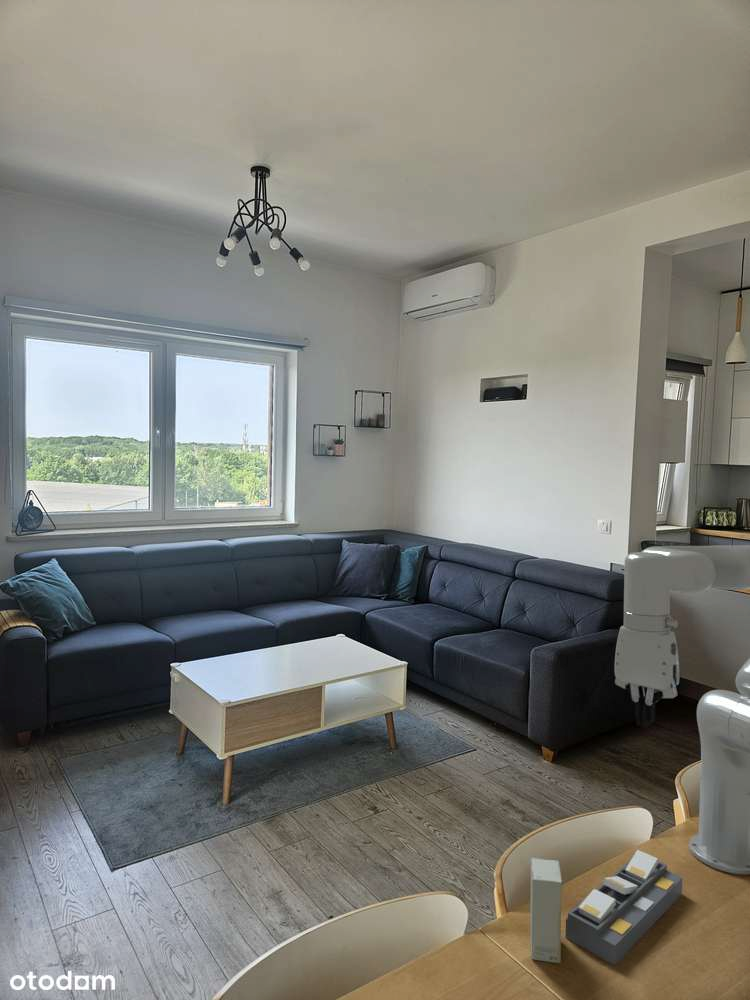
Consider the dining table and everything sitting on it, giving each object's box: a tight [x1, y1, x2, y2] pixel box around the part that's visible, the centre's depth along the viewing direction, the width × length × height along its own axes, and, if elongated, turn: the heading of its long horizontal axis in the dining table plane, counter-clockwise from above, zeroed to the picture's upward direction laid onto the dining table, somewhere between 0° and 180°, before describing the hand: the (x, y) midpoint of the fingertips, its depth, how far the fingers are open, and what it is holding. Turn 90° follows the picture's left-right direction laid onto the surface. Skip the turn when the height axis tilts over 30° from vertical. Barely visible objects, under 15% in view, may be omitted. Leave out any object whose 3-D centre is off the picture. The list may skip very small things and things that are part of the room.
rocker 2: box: [602, 876, 638, 895], centre depth 108 cm, size 5×4×1 cm
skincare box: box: [529, 857, 563, 964], centre depth 99 cm, size 6×4×12 cm
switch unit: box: [565, 859, 683, 966], centre depth 107 cm, size 25×8×4 cm, turn 133°
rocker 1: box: [579, 888, 616, 924], centre depth 102 cm, size 5×4×1 cm
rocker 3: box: [625, 849, 659, 883], centre depth 113 cm, size 5×4×1 cm
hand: (644, 723), depth 116 cm, fingers closed
